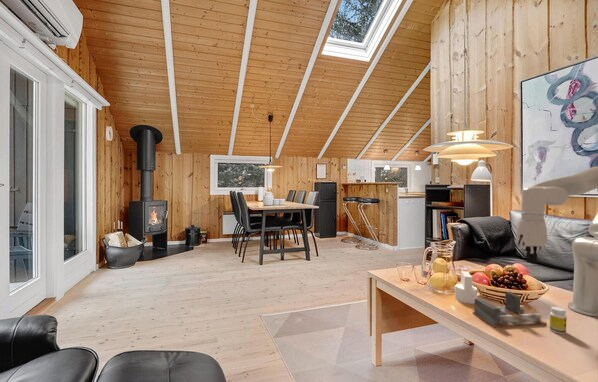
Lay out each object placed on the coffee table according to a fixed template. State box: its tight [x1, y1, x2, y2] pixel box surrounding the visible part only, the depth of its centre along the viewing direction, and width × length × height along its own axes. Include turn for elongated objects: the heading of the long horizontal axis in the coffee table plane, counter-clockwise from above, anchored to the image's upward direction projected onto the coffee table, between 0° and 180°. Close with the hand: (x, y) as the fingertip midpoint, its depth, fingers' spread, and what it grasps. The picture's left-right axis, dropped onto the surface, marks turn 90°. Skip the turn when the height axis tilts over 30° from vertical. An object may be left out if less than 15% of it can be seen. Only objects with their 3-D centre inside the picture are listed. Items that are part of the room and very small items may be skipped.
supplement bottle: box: [548, 306, 568, 335], centre depth 112 cm, size 5×5×8 cm
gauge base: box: [472, 298, 547, 328], centre depth 121 cm, size 22×12×7 cm, turn 97°
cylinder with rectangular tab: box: [454, 270, 478, 305], centre depth 141 cm, size 9×9×12 cm
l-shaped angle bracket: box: [500, 291, 521, 317], centre depth 119 cm, size 8×9×9 cm
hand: (531, 262), depth 123 cm, fingers closed
